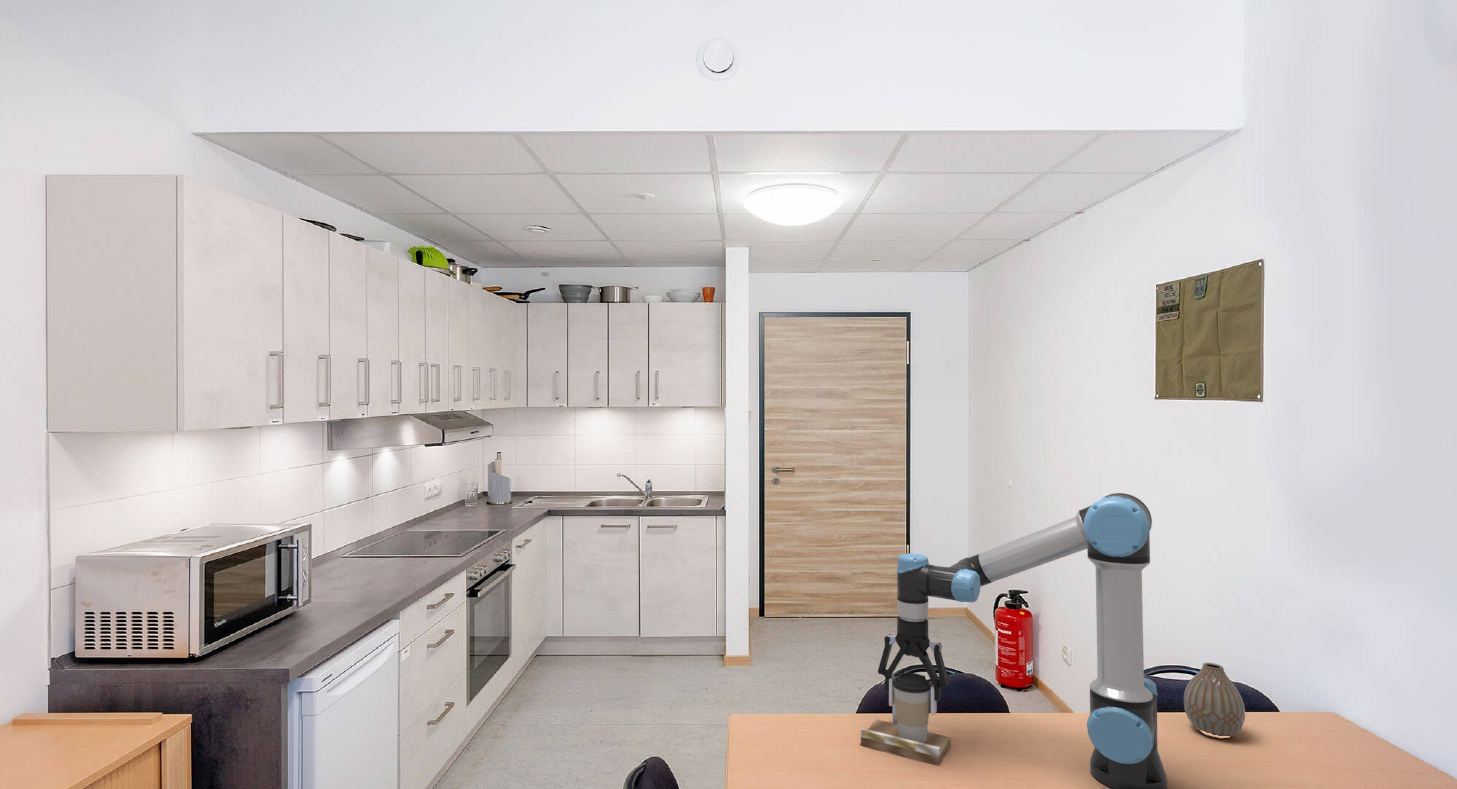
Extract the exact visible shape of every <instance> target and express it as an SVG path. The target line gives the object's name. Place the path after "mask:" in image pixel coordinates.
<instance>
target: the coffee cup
mask: <svg viewBox="0 0 1457 789" xmlns="http://www.w3.org/2000/svg"><path fill="white" fill-rule="evenodd" d="M893 686H894V690H895V694H894V698H895V708H896V717H897V722H898V733H899V737H900V738H904V739H908V740H912V741H916V742H920V743H924V742H926V740H927V732H928V727H929V726H928V724H929V715H930V706H931V687H932V686H930V682H929V681H928V680H927V678H926V676H925V675H922V674H919V673H915V672H904V673H900V674H899V675H898V676H897V677H895V681H894V683H893Z"/></svg>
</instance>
